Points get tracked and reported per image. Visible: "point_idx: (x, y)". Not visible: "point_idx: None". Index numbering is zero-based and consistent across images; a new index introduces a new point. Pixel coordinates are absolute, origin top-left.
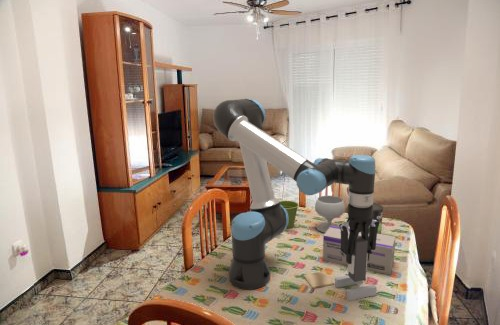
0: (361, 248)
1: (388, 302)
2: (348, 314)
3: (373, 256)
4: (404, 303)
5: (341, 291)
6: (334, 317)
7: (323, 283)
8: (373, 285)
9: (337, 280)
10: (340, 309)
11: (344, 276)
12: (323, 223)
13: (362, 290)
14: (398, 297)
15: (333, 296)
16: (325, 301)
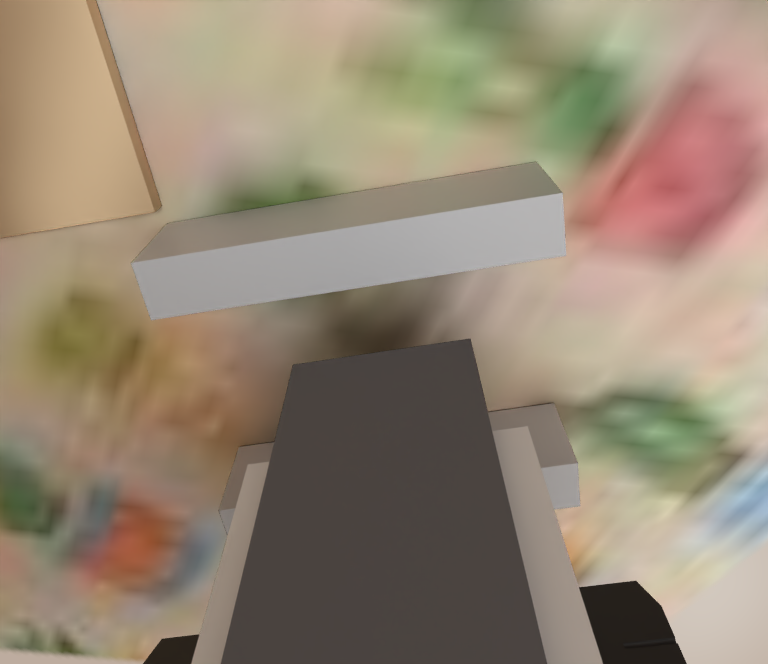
0: None
1: (608, 537)
2: (196, 617)
3: None
4: (737, 562)
5: (219, 340)
6: (75, 632)
7: (11, 200)
8: (565, 474)
9: (157, 315)
10: (143, 566)
11: (277, 252)
12: None
13: None
14: (751, 490)
15: (113, 407)
16: (20, 464)
